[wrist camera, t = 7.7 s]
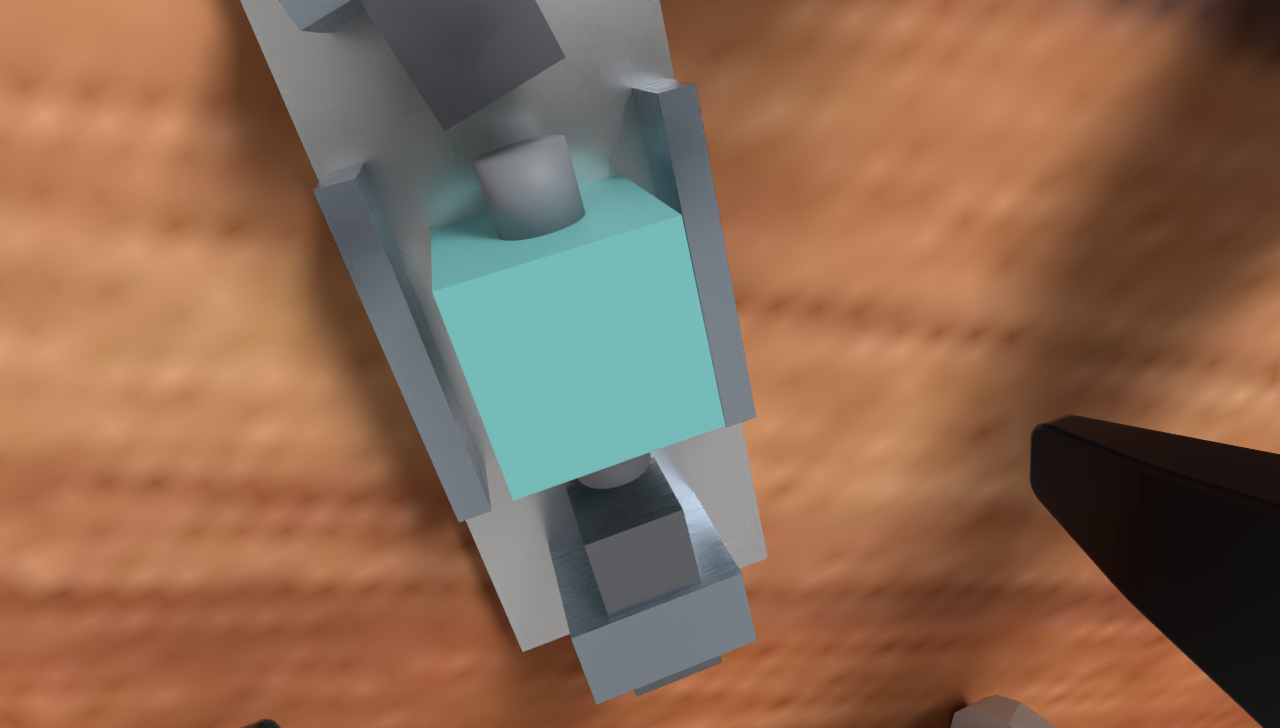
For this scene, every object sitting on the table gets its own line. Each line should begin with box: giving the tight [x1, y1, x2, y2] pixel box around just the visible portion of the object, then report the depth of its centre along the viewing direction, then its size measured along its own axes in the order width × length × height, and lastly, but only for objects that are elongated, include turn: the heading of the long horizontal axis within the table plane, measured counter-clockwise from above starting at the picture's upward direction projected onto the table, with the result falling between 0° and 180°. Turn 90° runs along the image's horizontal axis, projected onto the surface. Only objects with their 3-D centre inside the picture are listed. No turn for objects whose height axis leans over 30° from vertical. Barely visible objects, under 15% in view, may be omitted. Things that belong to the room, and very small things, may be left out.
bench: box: [240, 0, 768, 705], centre depth 16 cm, size 8×21×5 cm, turn 14°
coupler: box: [431, 135, 725, 501], centre depth 15 cm, size 4×8×4 cm, turn 14°
